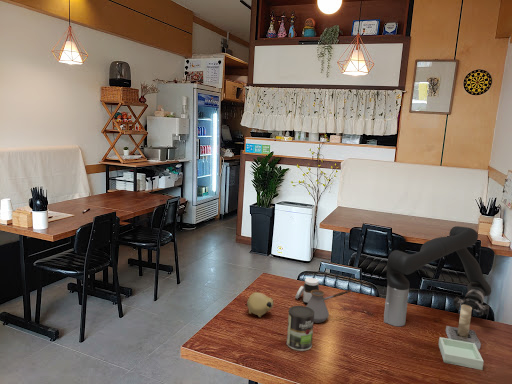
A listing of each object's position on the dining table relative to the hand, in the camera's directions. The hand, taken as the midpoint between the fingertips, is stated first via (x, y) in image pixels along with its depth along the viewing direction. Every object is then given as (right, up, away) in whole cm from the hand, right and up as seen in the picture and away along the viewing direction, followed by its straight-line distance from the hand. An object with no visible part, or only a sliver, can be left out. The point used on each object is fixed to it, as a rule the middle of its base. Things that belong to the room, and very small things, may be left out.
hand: (468, 310), depth 169 cm
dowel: (-7, -10, -7) cm, 14 cm away
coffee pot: (-63, -6, +5) cm, 63 cm away
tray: (-15, -12, -20) cm, 28 cm away
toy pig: (-93, -4, +7) cm, 94 cm away
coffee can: (-78, -8, -16) cm, 80 cm away
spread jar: (-69, -3, +24) cm, 73 cm away
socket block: (-7, -10, -7) cm, 14 cm away
